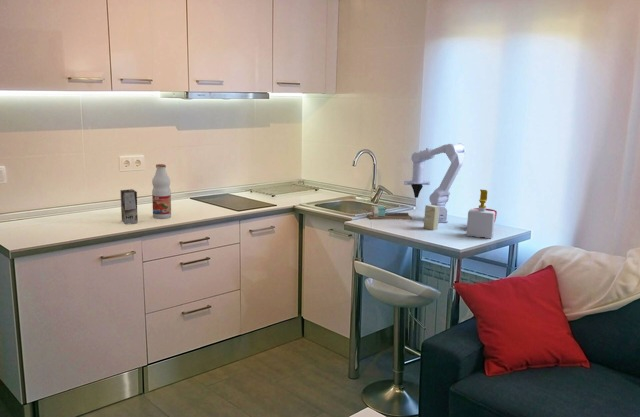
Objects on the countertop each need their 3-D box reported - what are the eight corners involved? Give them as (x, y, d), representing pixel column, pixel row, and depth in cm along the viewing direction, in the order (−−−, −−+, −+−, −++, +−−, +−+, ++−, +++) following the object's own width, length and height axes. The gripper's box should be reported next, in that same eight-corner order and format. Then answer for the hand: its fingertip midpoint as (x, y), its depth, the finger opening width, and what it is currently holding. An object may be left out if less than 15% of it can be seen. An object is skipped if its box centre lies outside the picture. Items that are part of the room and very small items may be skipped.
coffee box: (138, 223, 295) (137, 191, 291) (125, 224, 291) (123, 192, 288) (134, 219, 302) (133, 188, 299) (121, 220, 299) (120, 189, 296)
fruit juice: (174, 216, 312) (173, 164, 307) (163, 219, 304) (162, 166, 299) (160, 214, 316) (159, 163, 311) (149, 217, 308) (147, 164, 302)
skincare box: (423, 228, 302) (424, 205, 300) (428, 227, 305) (429, 204, 303) (433, 230, 298) (435, 207, 295) (438, 229, 301) (440, 206, 298)
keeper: (385, 216, 323) (385, 207, 322) (378, 216, 322) (378, 207, 321) (382, 214, 328) (383, 206, 327) (375, 214, 327) (376, 206, 326)
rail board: (412, 219, 324) (412, 208, 323) (370, 219, 320) (370, 208, 318) (407, 215, 332) (407, 205, 331) (366, 216, 328) (366, 205, 327)
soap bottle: (466, 236, 288) (469, 189, 283) (468, 233, 294) (472, 187, 289) (491, 239, 283) (495, 191, 278) (493, 236, 289) (497, 189, 284)
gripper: (427, 172, 334) (425, 196, 337) (403, 172, 332) (401, 196, 334) (431, 174, 327) (430, 198, 330) (407, 174, 325) (405, 198, 328)
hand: (416, 197), depth 332 cm, fingers closed
